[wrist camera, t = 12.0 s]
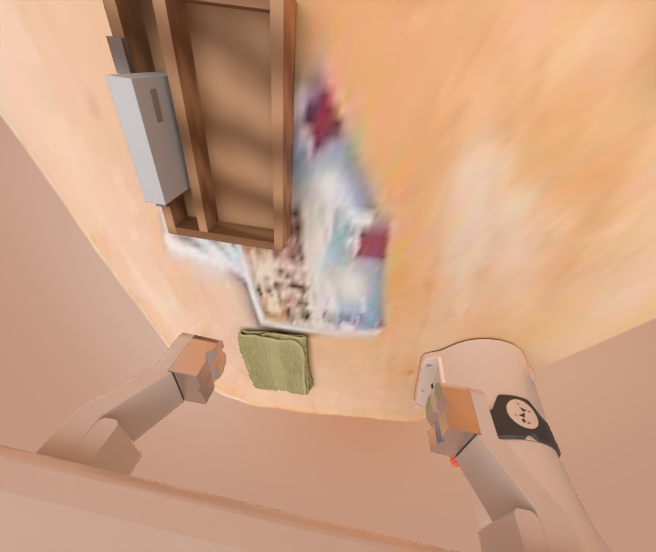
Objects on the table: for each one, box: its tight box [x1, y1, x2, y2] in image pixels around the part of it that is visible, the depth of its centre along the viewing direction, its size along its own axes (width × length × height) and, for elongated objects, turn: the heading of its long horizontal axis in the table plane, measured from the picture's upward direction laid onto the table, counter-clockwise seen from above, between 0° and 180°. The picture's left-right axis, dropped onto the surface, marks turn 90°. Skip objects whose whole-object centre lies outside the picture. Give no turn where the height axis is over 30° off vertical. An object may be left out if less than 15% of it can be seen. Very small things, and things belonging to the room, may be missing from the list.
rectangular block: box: [105, 71, 190, 205], centre depth 27 cm, size 10×2×7 cm, turn 174°
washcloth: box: [238, 330, 313, 395], centre depth 54 cm, size 13×18×3 cm
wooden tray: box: [103, 0, 296, 251], centre depth 28 cm, size 22×14×5 cm, turn 174°
